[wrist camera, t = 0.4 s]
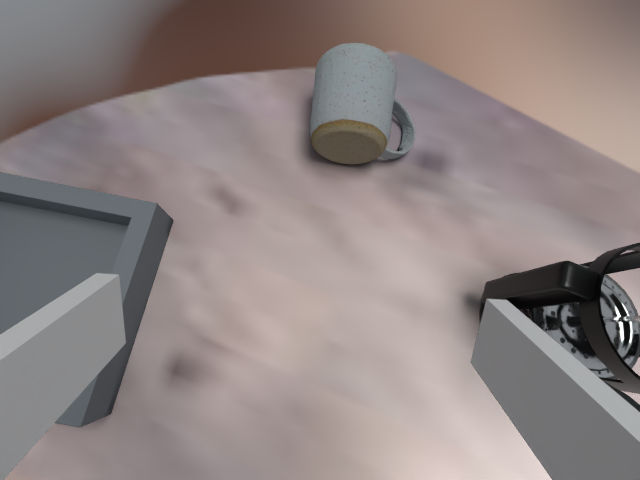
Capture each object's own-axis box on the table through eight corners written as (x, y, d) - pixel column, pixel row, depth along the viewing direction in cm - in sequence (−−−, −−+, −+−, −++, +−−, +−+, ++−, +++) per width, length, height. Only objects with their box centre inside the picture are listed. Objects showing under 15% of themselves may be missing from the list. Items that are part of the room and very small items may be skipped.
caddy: (110, 413, 26) (80, 427, 22) (-105, 376, 25) (-176, 383, 21) (173, 220, 30) (157, 203, 27) (-9, 184, 30) (-52, 161, 26)
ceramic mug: (304, 164, 33) (311, 115, 26) (312, 94, 36) (320, 31, 28) (409, 178, 34) (444, 135, 27) (410, 109, 36) (443, 52, 29)
